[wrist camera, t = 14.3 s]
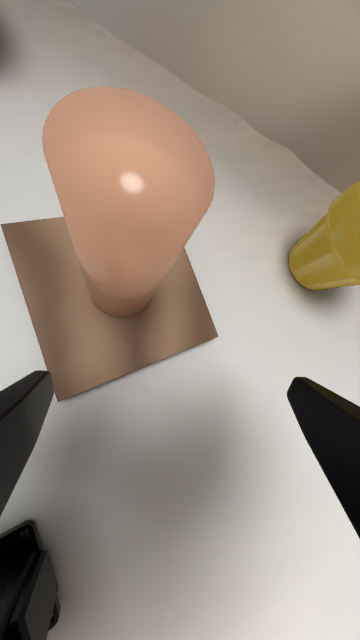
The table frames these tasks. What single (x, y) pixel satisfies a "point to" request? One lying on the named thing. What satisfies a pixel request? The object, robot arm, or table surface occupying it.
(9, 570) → the robot arm
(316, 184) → the table surface
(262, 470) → the table surface
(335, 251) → the plant pot
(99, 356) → the walnut board
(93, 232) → the pillar candle
